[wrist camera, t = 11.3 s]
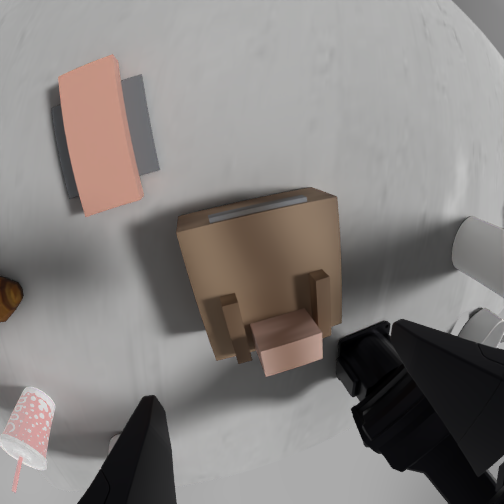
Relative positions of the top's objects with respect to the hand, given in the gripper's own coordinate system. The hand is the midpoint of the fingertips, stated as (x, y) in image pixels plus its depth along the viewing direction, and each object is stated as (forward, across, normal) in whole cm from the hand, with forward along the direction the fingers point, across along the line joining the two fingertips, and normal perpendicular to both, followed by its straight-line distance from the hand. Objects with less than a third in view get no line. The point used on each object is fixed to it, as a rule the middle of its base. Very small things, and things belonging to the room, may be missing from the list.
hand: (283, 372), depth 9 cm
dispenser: (+13, -2, +2) cm, 13 cm away
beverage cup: (+13, +27, +13) cm, 33 cm away
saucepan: (+13, -41, +27) cm, 51 cm away
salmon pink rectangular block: (+13, +7, -10) cm, 18 cm away
